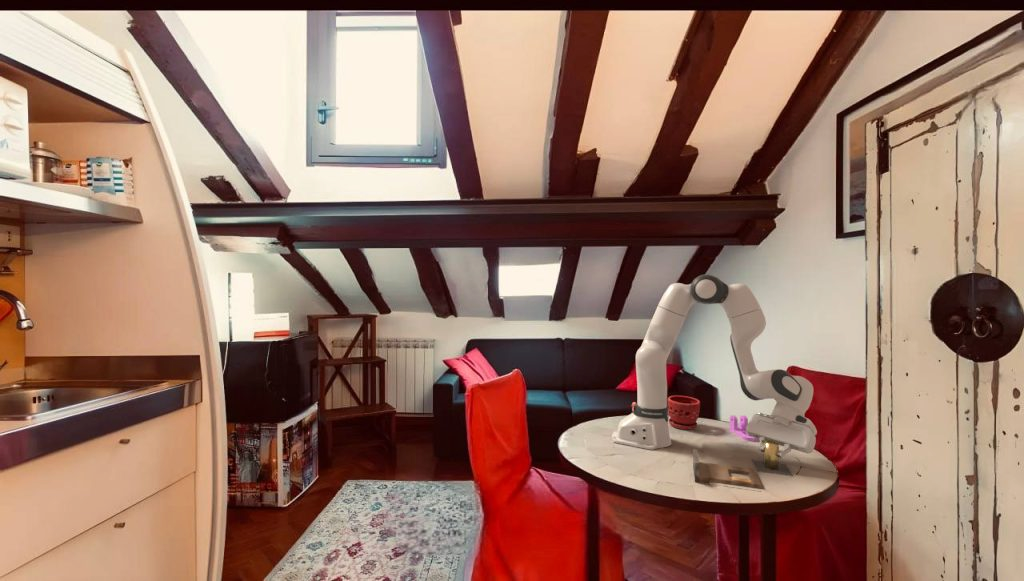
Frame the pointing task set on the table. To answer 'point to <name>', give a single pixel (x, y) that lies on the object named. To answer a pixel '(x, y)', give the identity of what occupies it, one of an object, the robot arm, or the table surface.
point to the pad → (761, 468)
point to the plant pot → (683, 411)
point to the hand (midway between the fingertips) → (770, 453)
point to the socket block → (723, 474)
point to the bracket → (742, 429)
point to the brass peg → (771, 455)
